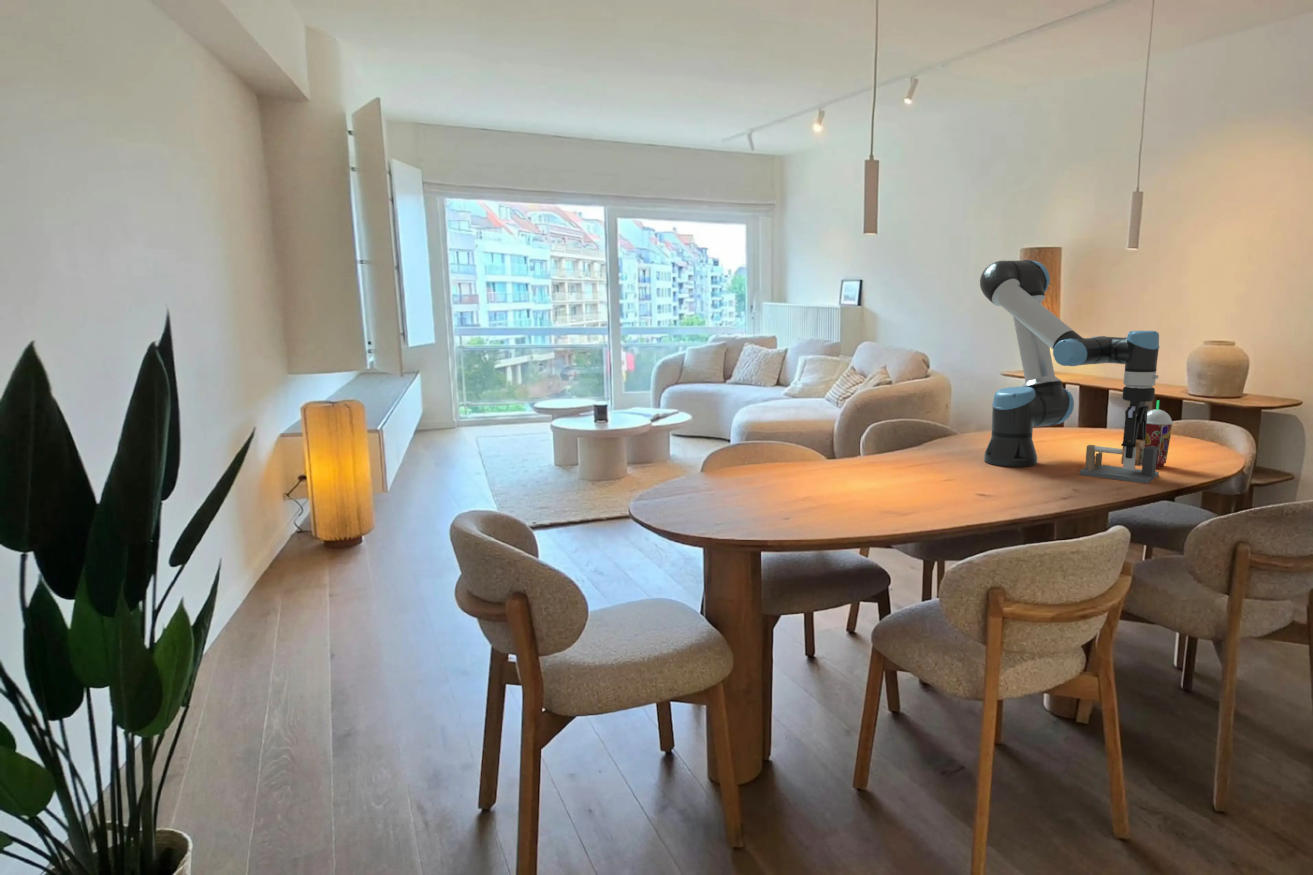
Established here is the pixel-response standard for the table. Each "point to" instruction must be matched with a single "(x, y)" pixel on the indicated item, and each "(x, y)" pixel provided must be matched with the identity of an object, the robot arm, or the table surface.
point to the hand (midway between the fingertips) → (1132, 466)
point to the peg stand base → (1119, 473)
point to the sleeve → (1139, 447)
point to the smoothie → (1158, 433)
